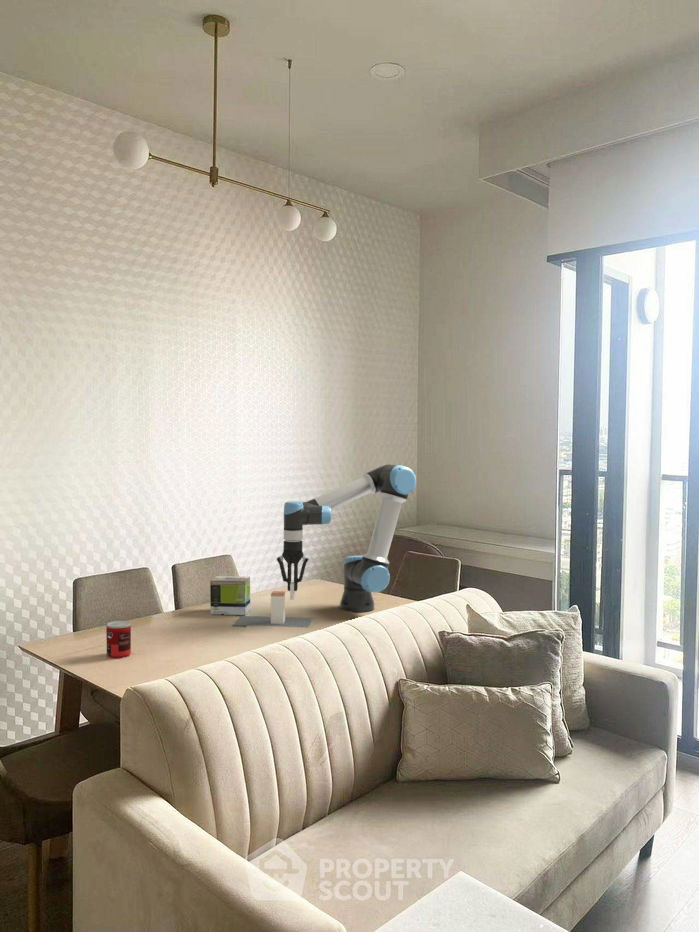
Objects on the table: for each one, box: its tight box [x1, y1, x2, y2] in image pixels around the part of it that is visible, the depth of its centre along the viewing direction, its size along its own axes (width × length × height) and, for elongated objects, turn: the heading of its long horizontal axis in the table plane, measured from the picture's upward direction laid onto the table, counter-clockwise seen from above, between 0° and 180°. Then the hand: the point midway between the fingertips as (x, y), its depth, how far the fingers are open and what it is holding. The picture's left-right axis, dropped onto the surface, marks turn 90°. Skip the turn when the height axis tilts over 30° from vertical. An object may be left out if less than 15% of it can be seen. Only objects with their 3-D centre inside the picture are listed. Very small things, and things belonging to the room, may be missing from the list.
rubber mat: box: [232, 615, 314, 628], centre depth 289 cm, size 30×14×1 cm, turn 86°
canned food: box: [105, 620, 132, 659], centre depth 245 cm, size 8×8×11 cm
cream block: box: [270, 590, 286, 624], centre depth 288 cm, size 5×5×12 cm
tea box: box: [209, 575, 251, 616], centre depth 304 cm, size 15×10×15 cm
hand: (292, 598), depth 287 cm, fingers closed
